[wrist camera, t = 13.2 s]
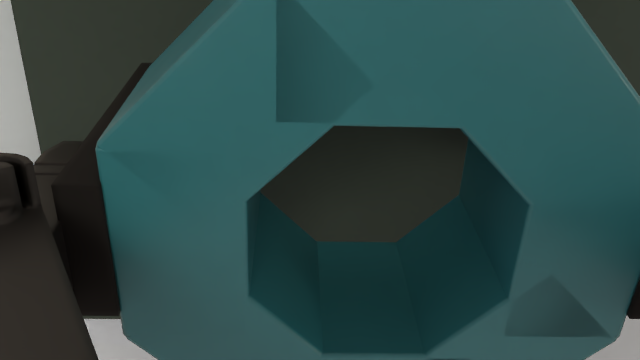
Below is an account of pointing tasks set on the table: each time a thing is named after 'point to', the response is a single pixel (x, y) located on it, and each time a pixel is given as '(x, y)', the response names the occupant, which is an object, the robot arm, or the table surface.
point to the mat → (313, 164)
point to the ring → (420, 243)
